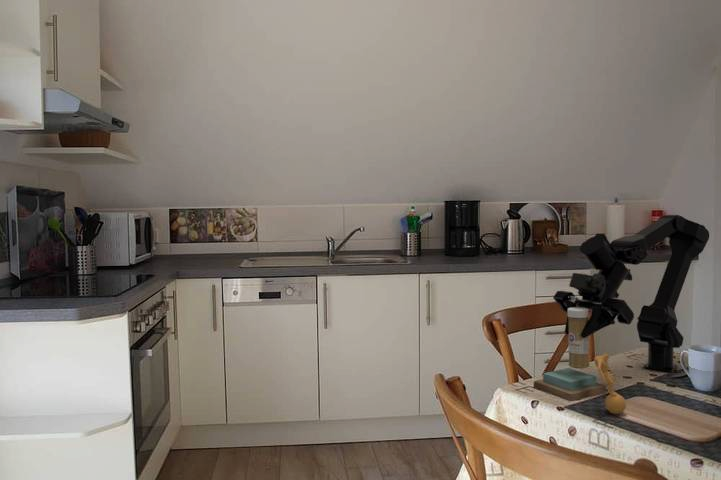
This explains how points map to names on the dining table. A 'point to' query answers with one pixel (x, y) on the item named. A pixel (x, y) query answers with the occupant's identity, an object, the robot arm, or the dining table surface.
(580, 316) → the sprinkles bottle
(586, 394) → the tower base
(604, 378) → the figurine
